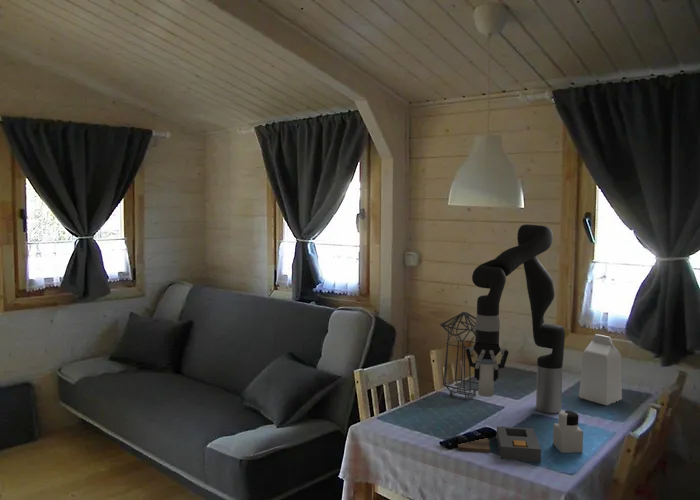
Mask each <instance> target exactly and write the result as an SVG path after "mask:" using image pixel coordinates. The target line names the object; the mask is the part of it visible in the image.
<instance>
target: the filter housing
mask: <svg viewBox="0 0 700 500" xmlns="http://www.w3.org/2000/svg"><path fill="white" fill-rule="evenodd" d="M495 436H496V441H497V448H498V451H499V452H498V453H499V457H500V460H507V461H508V460H510V461H522V462H523V461H525V462H539V463H541V462H542V449H541V445H540V442H539V440H538V437H537V435H536V432H535V430H534V428H533V427H532V428H531V427H530V428H529V427H517V426H516V427H513V426H499V425H497V426H496V434H495ZM513 440H517V441H525V442H526V446H527V447H514V446H513Z"/></svg>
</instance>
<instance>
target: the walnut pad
mask: <svg viewBox="0 0 700 500" xmlns="http://www.w3.org/2000/svg"><path fill="white" fill-rule="evenodd" d="M458 436H462V435H459V434H458V435H457V437H458ZM457 450H458V451H461V452H462V451H464V452H476V453H477V452H478V453H479V452H480V453H490V452H491V447H490V441H489V437H488V438H484V439H479V440H475V441H471V442H466V443H461V444H458V443H457Z"/></svg>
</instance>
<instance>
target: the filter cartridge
mask: <svg viewBox="0 0 700 500" xmlns="http://www.w3.org/2000/svg"><path fill="white" fill-rule="evenodd" d="M493 361H494V360H492V359H481V363H480V365H479V380H478V383H479V384H477V386H478V388H477V389H478V390H477V392H478V393H477V394H478V395H479V396H481V397H484V398H485V397H486V398H489V397H490V398H491V397H493V396H494V387H495V386H494V385H495V383H494V382H495V381H494V364H493Z"/></svg>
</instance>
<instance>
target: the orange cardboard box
mask: <svg viewBox="0 0 700 500" xmlns="http://www.w3.org/2000/svg"><path fill="white" fill-rule="evenodd" d="M513 446H514V447H527V446H526V442H525V441H517V440H513Z"/></svg>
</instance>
